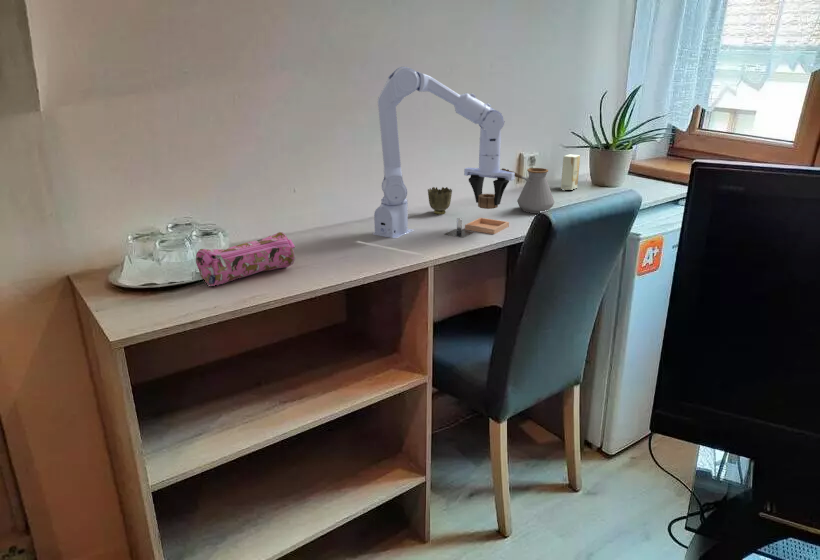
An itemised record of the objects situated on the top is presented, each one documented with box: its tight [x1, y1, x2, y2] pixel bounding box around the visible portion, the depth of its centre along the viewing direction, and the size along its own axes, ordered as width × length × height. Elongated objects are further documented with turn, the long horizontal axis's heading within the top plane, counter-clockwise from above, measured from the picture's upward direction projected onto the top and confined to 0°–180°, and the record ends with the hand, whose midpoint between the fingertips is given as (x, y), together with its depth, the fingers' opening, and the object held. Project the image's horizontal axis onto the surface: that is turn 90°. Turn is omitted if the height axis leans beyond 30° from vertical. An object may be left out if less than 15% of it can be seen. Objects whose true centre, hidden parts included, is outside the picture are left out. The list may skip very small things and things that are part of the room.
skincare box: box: [560, 153, 581, 191], centre depth 221 cm, size 6×4×12 cm
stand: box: [444, 217, 475, 238], centre depth 171 cm, size 6×6×5 cm
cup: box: [427, 186, 453, 216], centre depth 191 cm, size 8×7×8 cm
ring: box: [477, 193, 499, 210], centre depth 173 cm, size 5×5×3 cm
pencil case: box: [195, 231, 296, 287], centre depth 141 cm, size 21×9×9 cm, turn 130°
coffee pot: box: [500, 167, 555, 214], centre depth 191 cm, size 21×12×15 cm, turn 125°
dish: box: [464, 217, 510, 235], centre depth 176 cm, size 9×9×2 cm
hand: (488, 203), depth 174 cm, fingers closed on ring, 5 cm apart
